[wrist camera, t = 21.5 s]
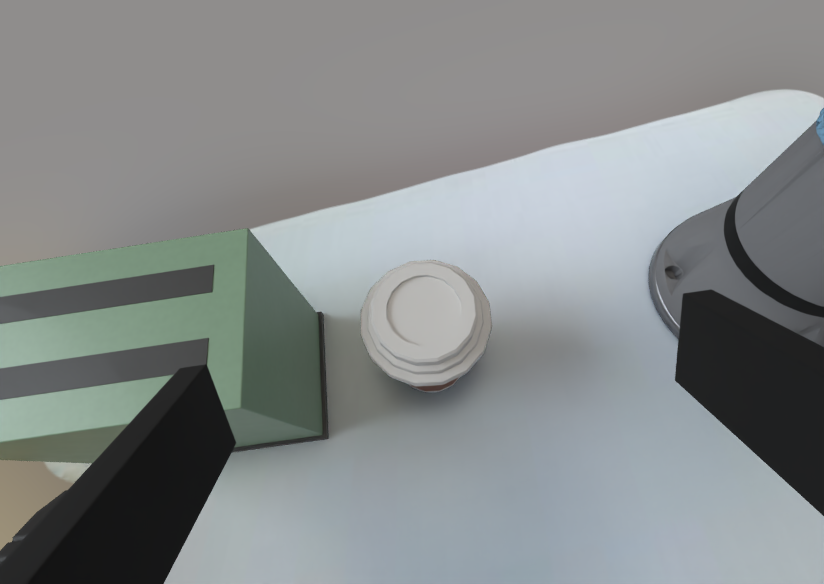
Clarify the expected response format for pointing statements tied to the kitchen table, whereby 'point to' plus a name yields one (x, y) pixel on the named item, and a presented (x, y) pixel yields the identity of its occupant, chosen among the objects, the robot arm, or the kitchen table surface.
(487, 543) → the kitchen table surface
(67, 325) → the toaster
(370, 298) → the coffee cup
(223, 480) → the kitchen table surface
